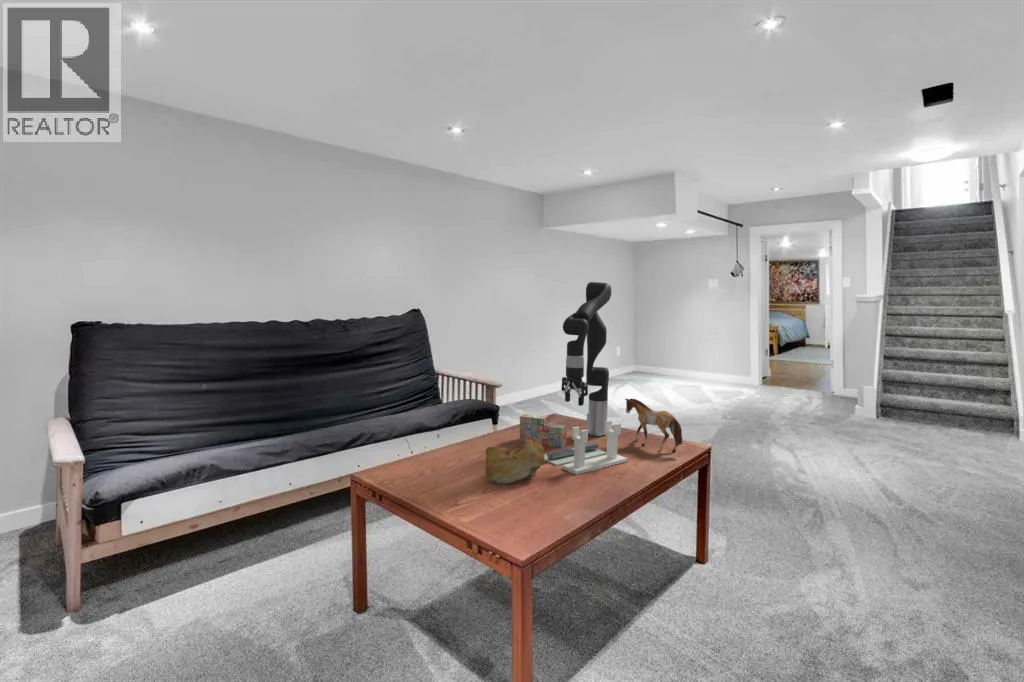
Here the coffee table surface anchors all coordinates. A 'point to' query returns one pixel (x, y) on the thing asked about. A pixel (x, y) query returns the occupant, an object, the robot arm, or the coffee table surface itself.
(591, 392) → the robot arm
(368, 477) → the coffee table surface
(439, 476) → the coffee table surface
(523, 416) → the stack of blocks
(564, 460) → the mat
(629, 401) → the horse figurine
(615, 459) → the rack
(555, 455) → the rail
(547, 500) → the coffee table surface
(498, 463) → the rough brown rock
